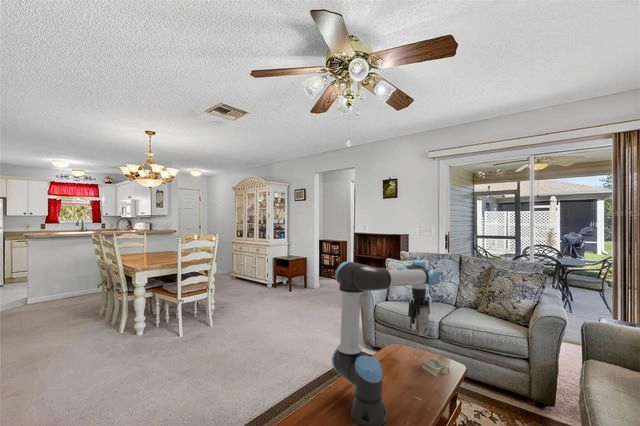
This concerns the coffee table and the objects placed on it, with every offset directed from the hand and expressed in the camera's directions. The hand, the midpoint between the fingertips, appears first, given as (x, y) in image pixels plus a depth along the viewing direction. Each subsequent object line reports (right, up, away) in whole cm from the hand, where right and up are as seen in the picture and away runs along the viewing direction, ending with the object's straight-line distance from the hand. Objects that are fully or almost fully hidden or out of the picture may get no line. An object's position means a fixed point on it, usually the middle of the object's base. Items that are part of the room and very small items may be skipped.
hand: (419, 328), depth 167 cm
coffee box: (0, -3, 0) cm, 3 cm away
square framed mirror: (+9, -23, -2) cm, 25 cm away
